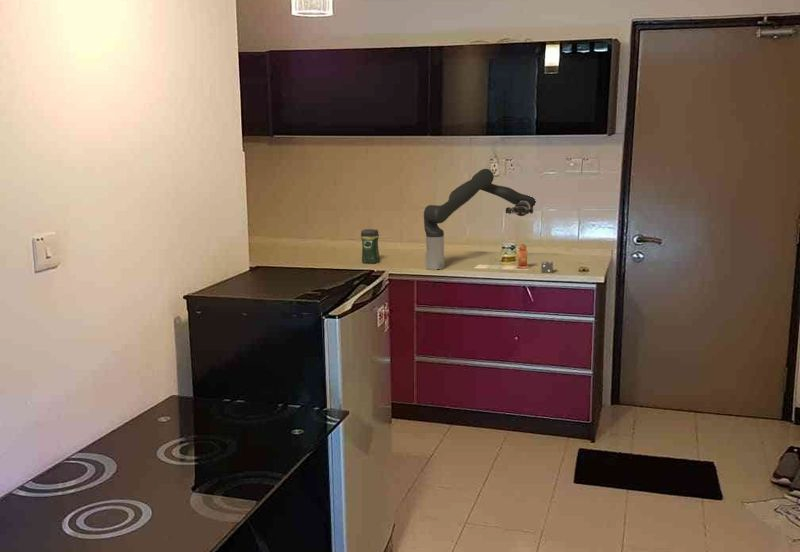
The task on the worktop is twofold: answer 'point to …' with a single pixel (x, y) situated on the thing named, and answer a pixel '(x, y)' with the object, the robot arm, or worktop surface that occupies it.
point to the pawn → (522, 257)
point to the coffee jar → (370, 246)
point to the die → (547, 267)
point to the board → (499, 267)
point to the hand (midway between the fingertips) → (517, 212)
